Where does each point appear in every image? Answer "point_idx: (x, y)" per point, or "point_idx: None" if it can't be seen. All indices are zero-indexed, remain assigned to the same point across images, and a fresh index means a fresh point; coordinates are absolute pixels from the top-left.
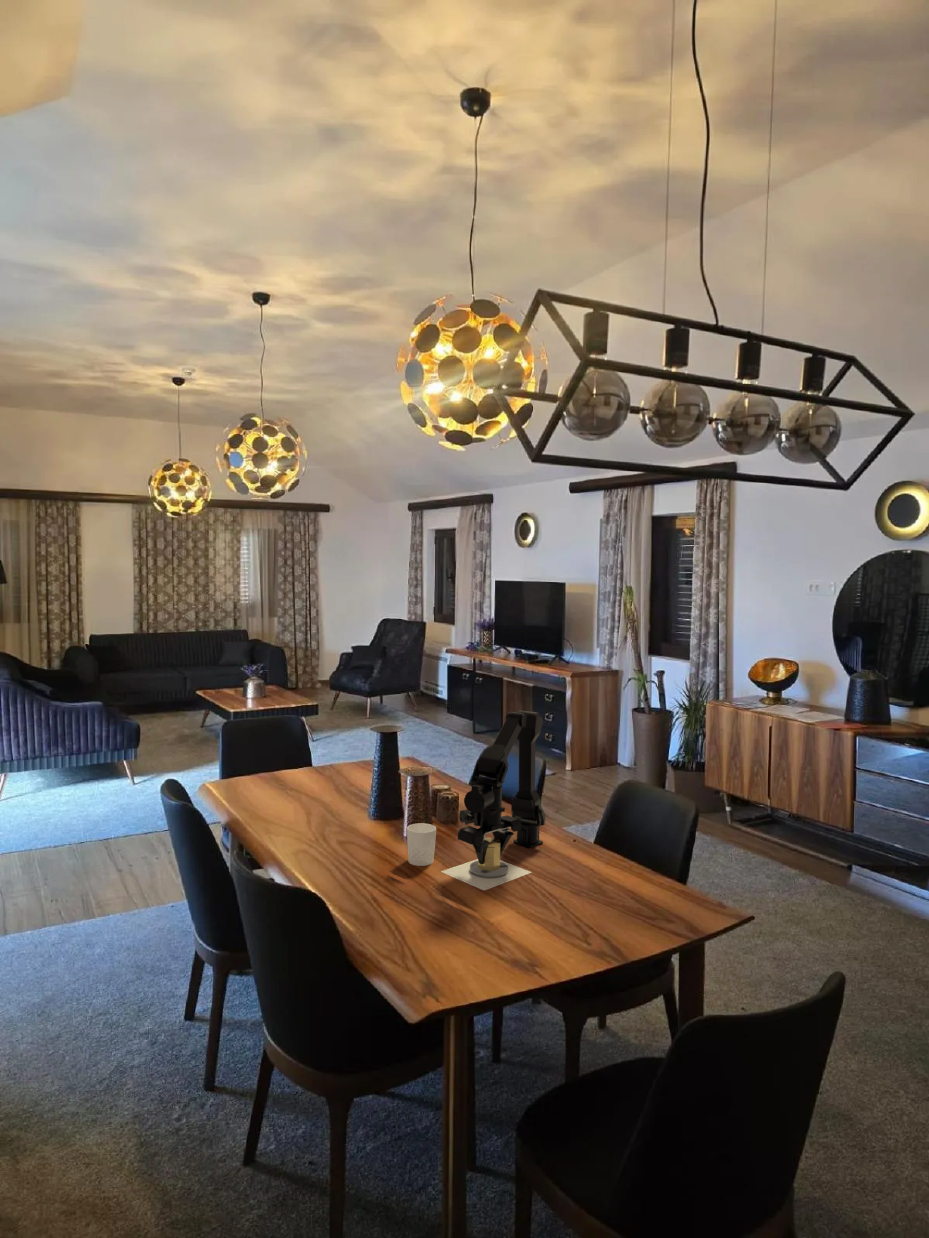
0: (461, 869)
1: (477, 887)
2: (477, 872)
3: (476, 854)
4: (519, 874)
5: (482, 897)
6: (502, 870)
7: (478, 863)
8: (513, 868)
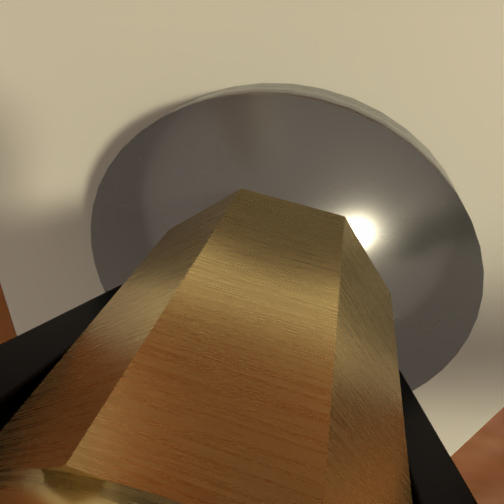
0: (109, 14)
1: (9, 306)
2: (98, 259)
3: (12, 339)
4: None
5: (2, 337)
6: None
7: (148, 255)
8: (442, 395)
